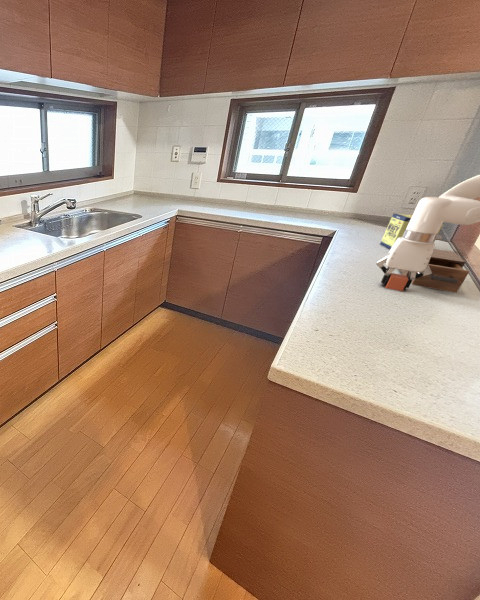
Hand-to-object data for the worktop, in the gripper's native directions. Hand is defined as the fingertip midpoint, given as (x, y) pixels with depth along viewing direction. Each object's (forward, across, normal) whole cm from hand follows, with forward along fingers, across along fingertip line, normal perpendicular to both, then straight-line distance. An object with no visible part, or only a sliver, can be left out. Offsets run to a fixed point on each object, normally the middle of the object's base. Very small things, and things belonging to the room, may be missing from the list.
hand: (393, 286), depth 114 cm
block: (0, 0, 0) cm, 0 cm away
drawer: (-1, -11, -9) cm, 14 cm away
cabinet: (0, -11, -21) cm, 24 cm away
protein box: (+1, -11, -68) cm, 69 cm away
